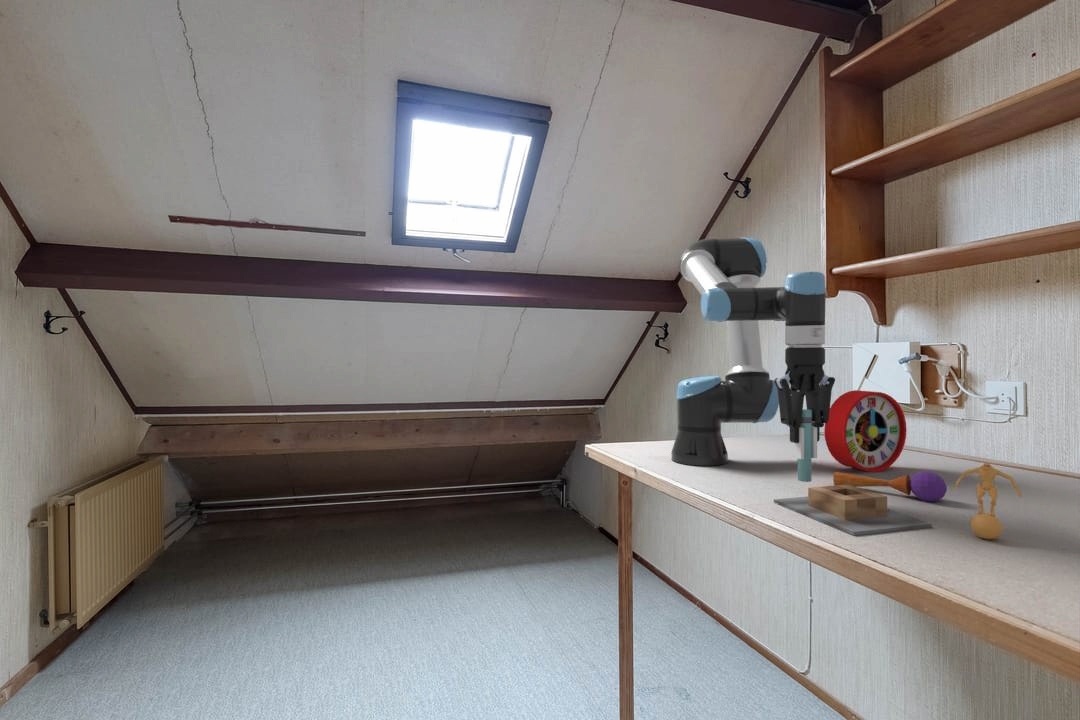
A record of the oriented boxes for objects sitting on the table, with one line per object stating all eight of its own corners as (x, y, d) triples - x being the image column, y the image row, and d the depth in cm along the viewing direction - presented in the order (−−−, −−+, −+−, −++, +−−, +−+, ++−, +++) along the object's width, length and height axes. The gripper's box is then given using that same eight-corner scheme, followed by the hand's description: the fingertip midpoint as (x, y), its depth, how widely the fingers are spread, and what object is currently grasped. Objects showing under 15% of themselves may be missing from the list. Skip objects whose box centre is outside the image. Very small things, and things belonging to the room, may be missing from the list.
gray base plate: (773, 502, 107) (773, 482, 106) (840, 496, 110) (840, 476, 110) (853, 535, 87) (853, 510, 87) (931, 527, 91) (931, 503, 91)
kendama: (840, 466, 122) (948, 473, 107) (840, 492, 121) (950, 503, 106) (830, 465, 118) (941, 472, 103) (831, 492, 117) (943, 503, 102)
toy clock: (843, 475, 129) (843, 393, 128) (824, 470, 134) (824, 391, 134) (906, 469, 134) (906, 390, 134) (885, 464, 140) (885, 389, 140)
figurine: (952, 536, 86) (952, 462, 86) (956, 526, 91) (955, 457, 91) (1021, 548, 81) (1021, 469, 81) (1021, 537, 85) (1021, 463, 85)
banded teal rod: (794, 479, 113) (794, 409, 113) (805, 478, 114) (805, 408, 113) (803, 482, 111) (803, 410, 110) (814, 481, 111) (814, 410, 111)
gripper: (784, 347, 106) (784, 463, 107) (850, 345, 109) (849, 458, 110) (761, 346, 113) (761, 456, 114) (823, 345, 117) (822, 451, 118)
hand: (804, 457), depth 112 cm, fingers closed on banded teal rod, 2 cm apart
